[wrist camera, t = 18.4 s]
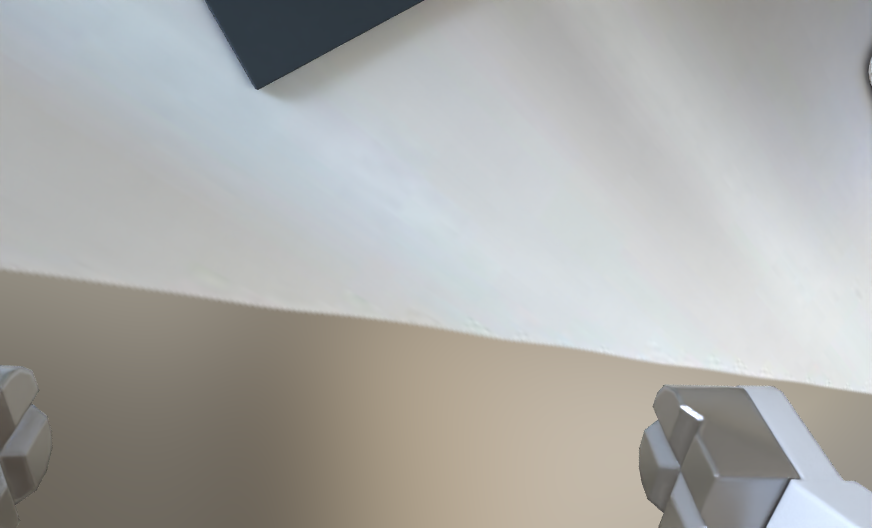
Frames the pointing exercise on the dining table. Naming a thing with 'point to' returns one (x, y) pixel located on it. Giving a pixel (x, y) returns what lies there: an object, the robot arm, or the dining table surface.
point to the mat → (295, 30)
